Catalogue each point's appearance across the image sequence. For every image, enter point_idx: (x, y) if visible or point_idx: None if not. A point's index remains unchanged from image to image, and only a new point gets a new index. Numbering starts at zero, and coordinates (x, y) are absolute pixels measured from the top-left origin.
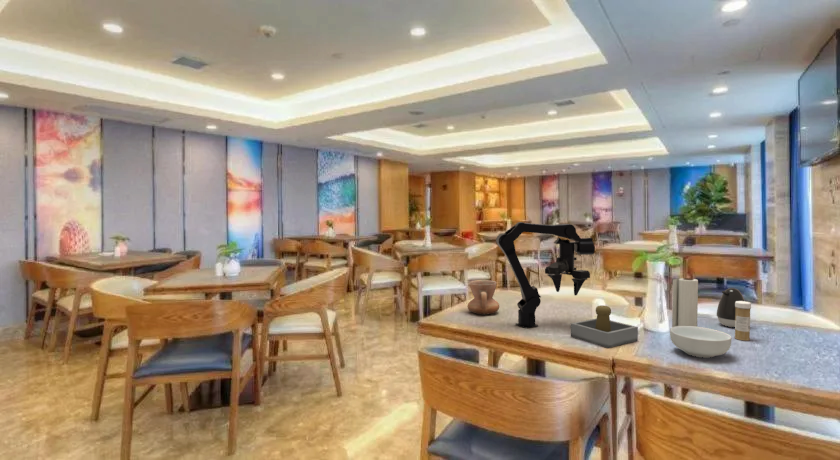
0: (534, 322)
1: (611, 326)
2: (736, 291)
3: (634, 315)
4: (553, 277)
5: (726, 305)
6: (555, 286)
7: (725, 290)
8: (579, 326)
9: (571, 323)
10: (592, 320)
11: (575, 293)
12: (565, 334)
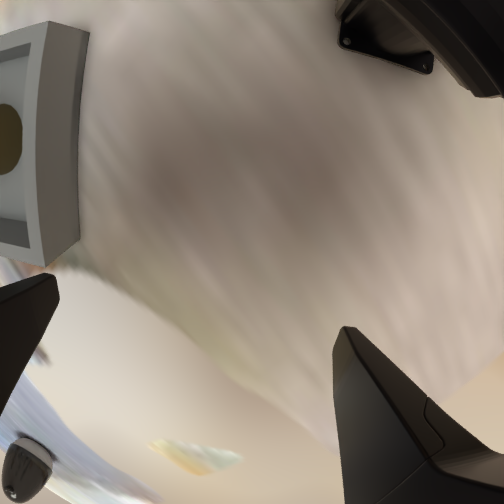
0: (339, 3)
1: (3, 230)
2: (3, 490)
3: (178, 462)
4: (470, 488)
5: (12, 467)
6: (385, 368)
7: (19, 499)
8: (8, 33)
9: (44, 22)
10: (24, 185)
11: (26, 280)
12: (126, 38)
